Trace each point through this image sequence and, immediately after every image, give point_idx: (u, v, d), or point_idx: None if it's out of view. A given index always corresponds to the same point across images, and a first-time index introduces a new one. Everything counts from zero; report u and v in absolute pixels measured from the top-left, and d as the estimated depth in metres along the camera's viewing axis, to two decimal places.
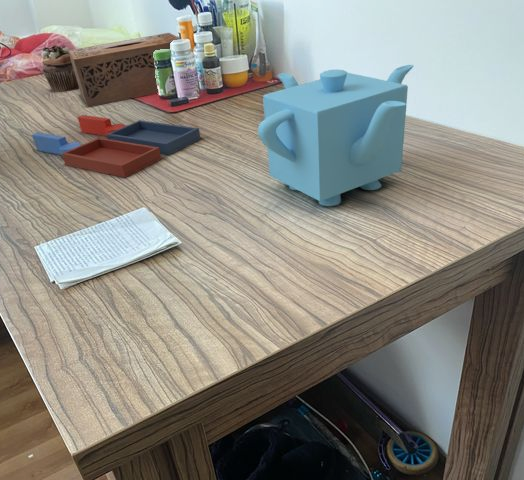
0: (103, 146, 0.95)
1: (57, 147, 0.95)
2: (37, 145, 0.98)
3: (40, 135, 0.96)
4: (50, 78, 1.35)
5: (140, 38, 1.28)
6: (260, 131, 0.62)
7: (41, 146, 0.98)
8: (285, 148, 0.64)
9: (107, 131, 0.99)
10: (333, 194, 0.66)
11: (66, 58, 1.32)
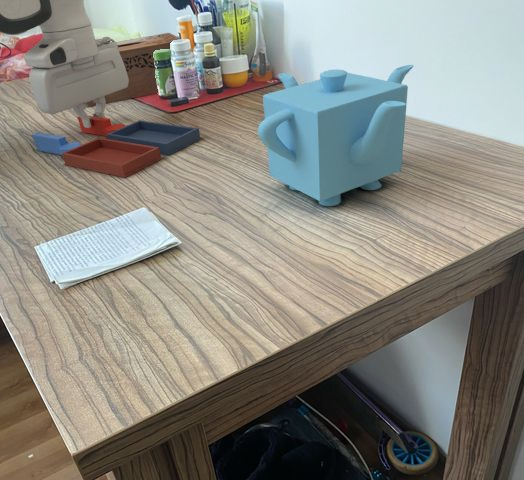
0: (103, 146, 0.95)
1: (57, 147, 0.95)
2: (37, 145, 0.98)
3: (40, 135, 0.96)
4: None
5: (140, 38, 1.28)
6: (260, 131, 0.62)
7: (41, 146, 0.98)
8: (285, 148, 0.64)
9: (107, 131, 0.99)
10: (333, 194, 0.66)
11: None
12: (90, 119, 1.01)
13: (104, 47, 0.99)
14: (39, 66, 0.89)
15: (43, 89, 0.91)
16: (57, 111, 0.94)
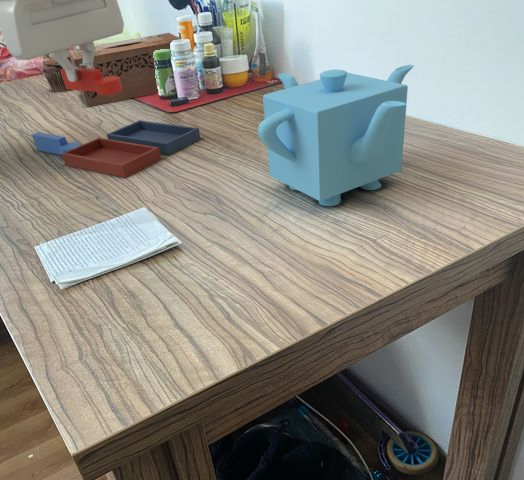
0: (103, 146, 0.95)
1: (57, 147, 0.95)
2: (37, 145, 0.98)
3: (40, 135, 0.96)
4: (50, 78, 1.35)
5: (140, 38, 1.28)
6: (260, 131, 0.62)
7: (41, 146, 0.98)
8: (285, 148, 0.64)
9: (97, 84, 0.79)
10: (333, 194, 0.66)
11: None
12: (76, 70, 0.81)
13: None
14: None
15: (14, 25, 0.71)
16: (33, 56, 0.74)
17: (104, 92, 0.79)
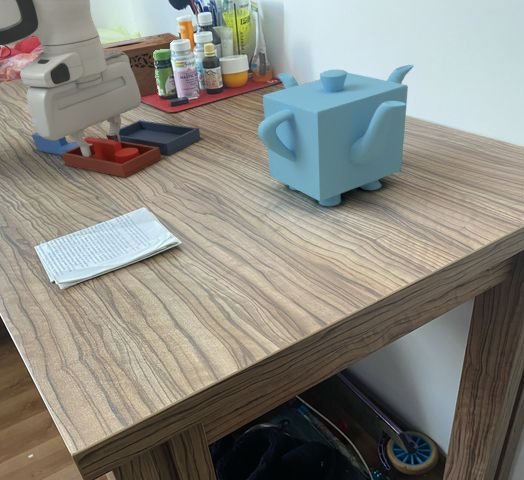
0: None
1: (57, 147, 0.95)
2: (37, 145, 0.98)
3: None
4: None
5: (140, 38, 1.28)
6: (260, 131, 0.62)
7: (41, 146, 0.98)
8: (285, 148, 0.64)
9: (117, 157, 0.85)
10: (333, 194, 0.66)
11: None
12: (90, 147, 0.86)
13: (113, 61, 0.85)
14: (38, 85, 0.76)
15: (43, 112, 0.77)
16: (59, 137, 0.80)
17: None
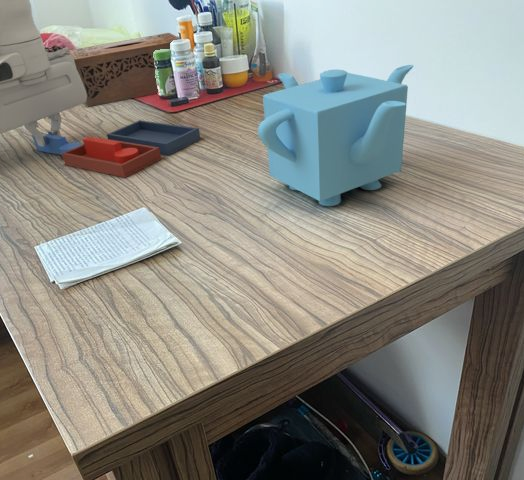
0: None
1: (57, 147, 0.95)
2: (37, 145, 0.98)
3: None
4: None
5: (140, 38, 1.28)
6: (260, 131, 0.62)
7: (41, 146, 0.98)
8: (285, 148, 0.64)
9: (117, 157, 0.85)
10: (333, 194, 0.66)
11: None
12: (44, 137, 0.94)
13: (58, 61, 0.92)
14: None
15: None
16: (5, 130, 0.87)
17: None
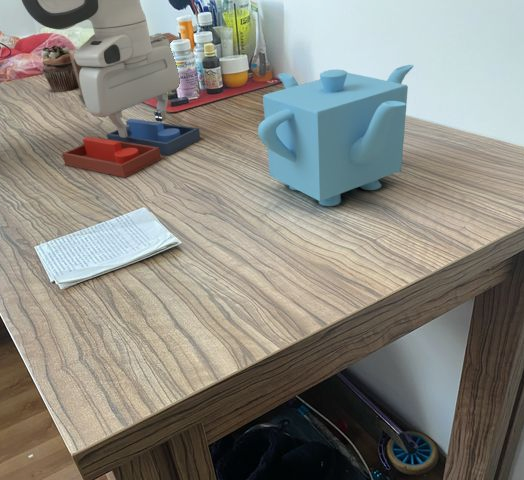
0: None
1: (154, 133, 0.94)
2: None
3: (135, 121, 0.95)
4: (50, 78, 1.35)
5: None
6: (260, 131, 0.62)
7: (135, 133, 0.97)
8: (285, 148, 0.64)
9: (117, 157, 0.85)
10: (333, 194, 0.66)
11: (66, 58, 1.32)
12: (127, 128, 0.91)
13: (156, 44, 0.91)
14: (91, 65, 0.82)
15: (95, 90, 0.83)
16: (108, 114, 0.86)
17: None
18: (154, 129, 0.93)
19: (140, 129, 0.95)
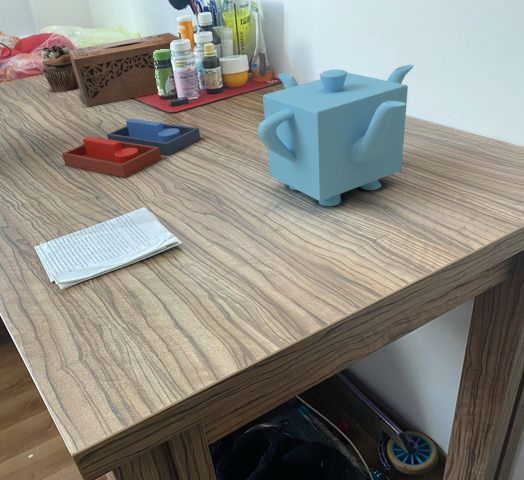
0: None
1: (154, 133, 0.94)
2: (130, 132, 0.97)
3: (135, 121, 0.95)
4: (50, 78, 1.35)
5: (140, 38, 1.28)
6: (260, 131, 0.62)
7: (135, 133, 0.97)
8: (285, 148, 0.64)
9: (117, 157, 0.85)
10: (333, 194, 0.66)
11: (66, 58, 1.32)
12: None
13: None
14: None
15: None
16: None
17: None
18: (154, 129, 0.93)
19: (140, 129, 0.95)
